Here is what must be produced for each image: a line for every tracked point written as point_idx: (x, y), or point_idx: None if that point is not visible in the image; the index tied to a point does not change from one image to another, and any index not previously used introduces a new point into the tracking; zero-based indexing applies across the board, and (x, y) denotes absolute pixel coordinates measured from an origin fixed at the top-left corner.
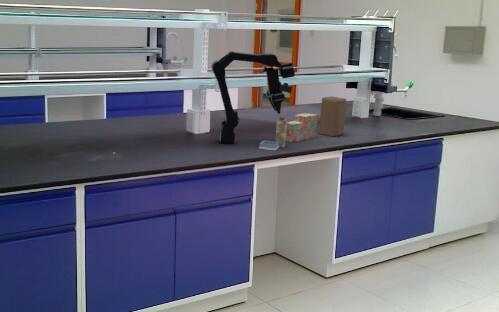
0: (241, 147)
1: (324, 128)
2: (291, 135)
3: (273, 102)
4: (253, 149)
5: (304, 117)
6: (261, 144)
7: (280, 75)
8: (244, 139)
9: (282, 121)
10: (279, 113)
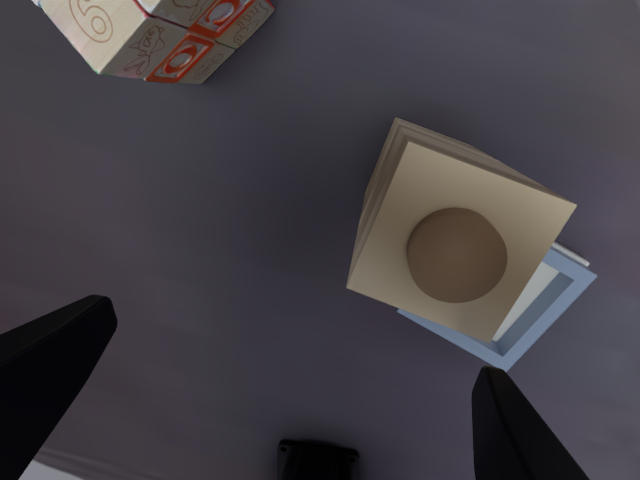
0: (452, 437)
1: None
2: (245, 6)
3: None
4: None
5: None
6: (513, 357)
7: None
8: (226, 361)
9: (530, 260)
10: (500, 377)
